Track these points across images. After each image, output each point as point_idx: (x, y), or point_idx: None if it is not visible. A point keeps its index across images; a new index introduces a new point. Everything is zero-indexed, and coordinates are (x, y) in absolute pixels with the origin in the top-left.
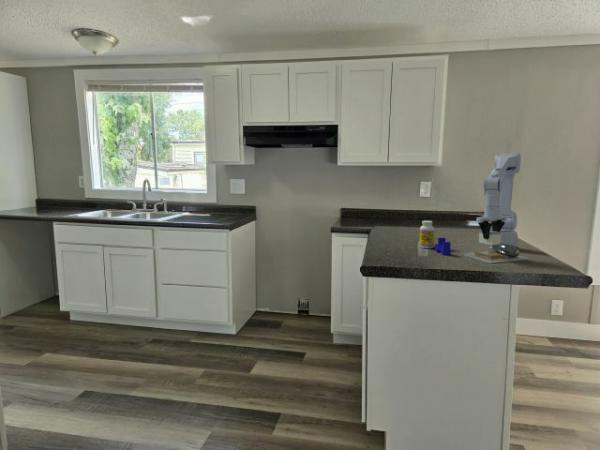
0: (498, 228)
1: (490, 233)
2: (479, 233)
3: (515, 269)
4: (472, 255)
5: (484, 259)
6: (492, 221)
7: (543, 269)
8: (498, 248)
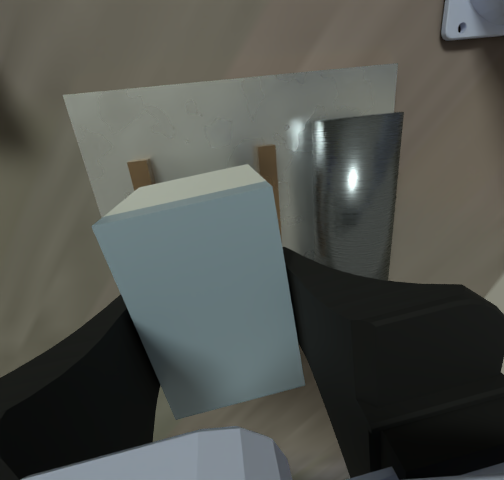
0: (319, 389)
1: (168, 388)
2: (109, 216)
3: (191, 426)
4: (95, 197)
5: None
6: (374, 365)
7: (295, 429)
8: (316, 195)
